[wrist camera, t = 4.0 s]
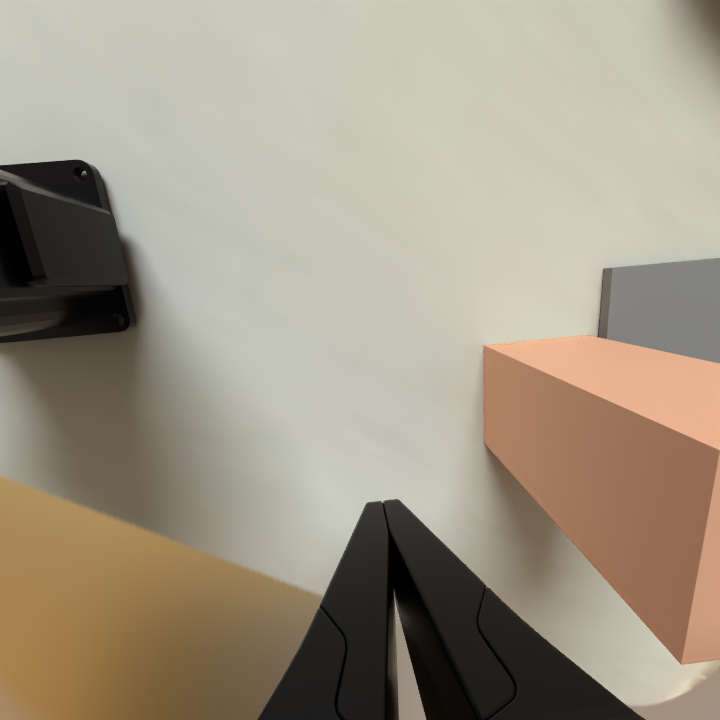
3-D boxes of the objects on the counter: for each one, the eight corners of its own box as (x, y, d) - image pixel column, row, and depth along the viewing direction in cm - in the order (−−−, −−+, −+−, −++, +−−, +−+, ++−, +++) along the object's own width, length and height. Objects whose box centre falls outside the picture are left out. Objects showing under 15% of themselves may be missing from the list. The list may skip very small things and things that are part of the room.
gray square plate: (586, 483, 18) (593, 489, 17) (603, 268, 15) (612, 268, 15) (785, 461, 18) (797, 466, 17) (835, 247, 15) (851, 246, 15)
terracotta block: (483, 442, 17) (681, 665, 7) (483, 345, 16) (719, 450, 6) (580, 432, 17) (904, 635, 7) (587, 335, 16) (984, 420, 6)
